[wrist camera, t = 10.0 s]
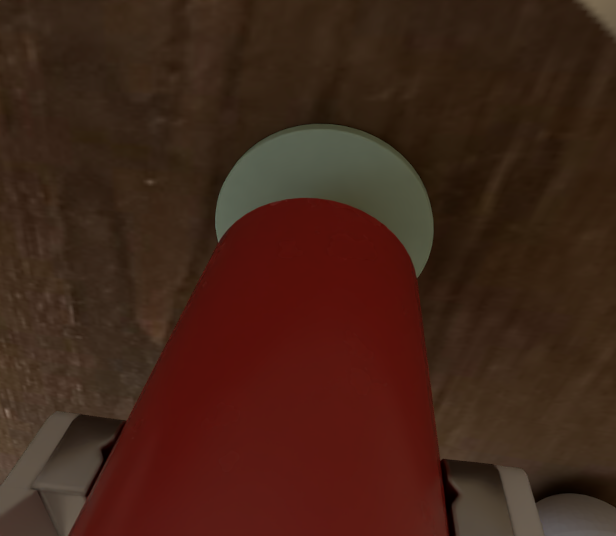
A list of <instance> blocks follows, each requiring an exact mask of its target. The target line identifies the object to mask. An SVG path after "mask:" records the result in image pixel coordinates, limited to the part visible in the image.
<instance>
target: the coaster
mask: <svg viewBox="0 0 616 536" xmlns="http://www.w3.org/2000/svg"><path fill="white" fill-rule="evenodd" d="M294 198H319V199H326V200H332V201H336V202H340V203H344V204H347V205H350V206H352V207H354V208H357V209H359V210H362V211H363V212H365V213H367V214H369V215H371V216H372V217H374V218H376V219H377V220H378V221H380V222H381V223H382V224H384V225H385V226H386V227H387V228H388V229H389V230H390V231H391V232H392V233H394V234H395V235H396V237H397V238H398V239H399V240H400V242H401V243H402V244H403V245H404V247H405V249H406V250H407V252H408V254H409V256H410V257H411V260H412V263H413V265H414V268H415V272H416V277H417V278H418V276H419V275H420V273H421V272H422V270H423V268H424V266H425V264H426V262H427V260H428V258H429V254H430V251H431V247H432V242H433V234H434V227H433V215H432V210H431V205H430V200H429V197H428V194H427V191H426V189H425V187H424V185H423V183H422V181H421V179H420V177H419V175H418V174H417V172H416V171H415V170H414V168H413V167H412V165H411V164H410V163H409V162H408V161H407V160H406V159H405V158H404V157H403V156H402V155H401V154H400V153H399V152H398V151H396V150H395V149H394V148H393V147H391V146H390V145H389V144H387V143H385V142H384V141H382V140H380V139H379V138H377V137H375V136H373V135H371V134H368V133H366V132H363V131H361V130H358V129H354V128H350V127H347V126H341V125H333V124H309V125H301V126H296V127H292V128H288V129H284V130H282V131H279V132H277V133H274V134H272V135H270V136H268V137H266V138H265V139H263V140H261V141H260V142H258V143H257V144H255V145H254V146H253V147H251V148H250V149H249V150H248V151H247V152H246V153H245V154H244V155H243V156H242V157H241V158H240V159H239V160H238V161H237V163H236V164H235V165H234V167H233V168H232V170H231V171H230V173H229V174H228V176H227V178H226V180H225V182H224V184H223V186H222V188H221V190H220V194H219V197H218V200H217V206H216V213H215V227H216V234H217V239H218V242H219V241H220V239H221V238H222V236H223V235H224V234H225V232H226V231H227V230H228V229H229V228H230V227H231V226H232V225H233V224H234V223H235V222H236V221H237V220H238V219H240V218H241V217H243V216H244V215H245V214H247V213H249V212H251V211H253V210H254V209H256V208H258V207H261V206H264V205H266V204H269V203H272V202H276V201H281V200H285V199H294Z"/></svg>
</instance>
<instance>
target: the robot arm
mask: <svg viewBox="0 0 616 536" xmlns="http://www.w3.org/2000/svg"><path fill="white" fill-rule="evenodd" d="M126 422H127V421H125V420H118V419H111V418H103V417H96V416H89V415H82V414H76V413H67V412H59V411H56V412H55V413H53V414H52V415H51V416H50V417H48V418H47V420H46V421H45V423H44V424H43V426H42V427H41V428H40V430H39V431H38V433H37V434H36V436H35V437H34V439H33V440H32V442H31V443H30V444H29V446H28V447H27V449H26V450H25V452H24V453H23V455H22V456H21V457H20V459H19V460H18V462H17V463H16V465H15V466H14V468H13V469H12V470H11V472H10V473H9V475H8V476H7V478H6V479H5V481H4V482H3V484H2V485H0V536H68V535H69V533H70V531H71V529H72V527H73V525H74V523H75V521H76V519H77V517H78V515H79V513H80V511H81V509H82V507H83V505H84V503H85V501H86V499H87V498H88V496H89V494H90V492H91V490H92V488H93V486H94V484H95V482H96V480H97V478H98V476H99V474H100V472H101V470H102V468H103V466H104V464H105V462H106V461H107V459H108V457H109V455H110V453H111V451H112V449H113V447H114V445H115V443H116V441H117V439H118V437H119V435H120V433H121V431H122V429H123V427H124V425H125V424H126ZM440 463H441V471H442V478H443V486H444V494H445V502H446V510H447V518H448V526H449V533H450V536H545V534H544V531H543V527H542V524H541V521H540V517H539V514H538V510H537V507H536V504H535V500H534V497H533V493H532V490H531V487H530V483H529V480H528V476H527V474H526V473H525V471H524V470H523V469H521V468H515V467H506V466H496V465H493V464H486V463H477V462H467V461H458V460H448V459H442V460H441V461H440Z"/></svg>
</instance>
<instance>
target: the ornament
mask: <svg viewBox="0 0 616 536" xmlns="http://www.w3.org/2000/svg"><path fill="white" fill-rule="evenodd" d="M535 504H536V507H537V510H538V514H539V517H540V521H541V524H542V527H543V531H544V534H545V536H616V508H615V507H614V506H612V505H610V504H608V503H606V502H604V501H602V500H599V499H597V498H594V497H591V496H587V495H581V494H573V493H566V494H557V495H553V496H549V497H546V498H544V499H542V500H540V501H538V502H537V503H535Z"/></svg>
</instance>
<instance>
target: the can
mask: <svg viewBox="0 0 616 536" xmlns="http://www.w3.org/2000/svg"><path fill="white" fill-rule="evenodd" d="M68 536H450V533H449V526H448V518H447V510H446V502H445V494H444V486H443V478H442V471H441V463H440V455H439V447H438V439H437V431H436V424H435V416H434V408H433V400H432V392H431V384H430V376H429V369H428V361H427V353H426V345H425V337H424V329H423V321H422V314H421V306H420V298H419V290H418V282H417V277H416V272H415V268H414V265H413V263H412V260H411V257H410V256H409V254H408V252H407V250H406V249H405V247H404V245H403V244H402V243H401V242H400V240H399V239H398V238H397V237H396V235H395V234H394V233H392V232H391V231H390V230H389V229H388V228H387V227H386V226H385V225H384V224H382V223H381V222H380V221H378V220H377V219H376V218H374V217H372V216H371V215H369V214H367V213H365V212H363V211H362V210H359V209H357V208H354V207H352V206H350V205H347V204H344V203H340V202H336V201H332V200H326V199H319V198H294V199H285V200H281V201H276V202H272V203H269V204H266V205H264V206H261V207H258V208H256V209H254V210H253V211H251V212H249V213H247V214H245V215H244V216H243V217H241V218H240V219H238V220H237V221H236V222H235V223H234V224H233V225H232V226H231V227H230V228H229V229H228V230H227V231H226V232H225V234H224V235H223V236H222V238H221V239H220V241H219V242H218V244H217V246H216V248H215V250H214V252H213V254H212V256H211V258H210V260H209V262H208V264H207V266H206V268H205V270H204V272H203V274H202V275H201V277H200V279H199V281H198V283H197V285H196V287H195V289H194V291H193V293H192V295H191V297H190V299H189V301H188V303H187V305H186V307H185V309H184V311H183V312H182V314H181V316H180V318H179V320H178V322H177V324H176V326H175V328H174V330H173V332H172V334H171V336H170V338H169V340H168V342H167V344H166V346H165V348H164V349H163V351H162V353H161V355H160V357H159V359H158V361H157V363H156V365H155V367H154V369H153V371H152V373H151V375H150V377H149V379H148V381H147V383H146V385H145V387H144V388H143V390H142V392H141V394H140V396H139V398H138V400H137V402H136V404H135V406H134V408H133V410H132V412H131V414H130V416H129V418H128V420H127V422H126V424H125V425H124V427H123V429H122V431H121V433H120V435H119V437H118V439H117V441H116V443H115V445H114V447H113V449H112V451H111V453H110V455H109V457H108V459H107V461H106V462H105V464H104V466H103V468H102V470H101V472H100V474H99V476H98V478H97V480H96V482H95V484H94V486H93V488H92V490H91V492H90V494H89V496H88V498H87V499H86V501H85V503H84V505H83V507H82V509H81V511H80V513H79V515H78V517H77V519H76V521H75V523H74V525H73V527H72V529H71V531H70V533H69V535H68Z"/></svg>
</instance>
